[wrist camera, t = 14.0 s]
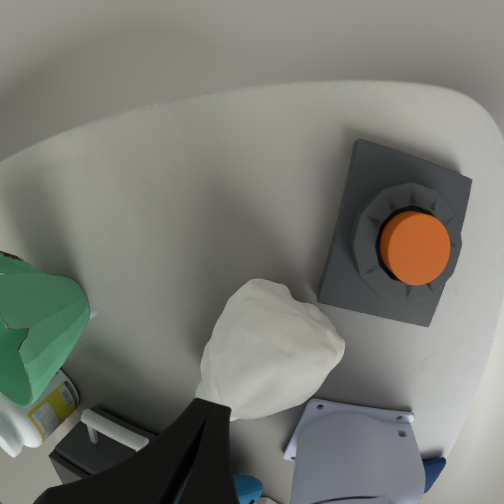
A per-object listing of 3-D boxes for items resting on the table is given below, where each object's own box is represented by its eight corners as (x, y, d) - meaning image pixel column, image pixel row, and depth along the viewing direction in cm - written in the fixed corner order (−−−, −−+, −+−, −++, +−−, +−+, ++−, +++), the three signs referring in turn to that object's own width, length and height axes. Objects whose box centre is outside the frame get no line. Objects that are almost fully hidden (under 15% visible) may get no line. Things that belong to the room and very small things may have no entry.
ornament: (207, 517, 22) (154, 533, 14) (194, 482, 25) (138, 487, 17) (279, 500, 22) (246, 522, 14) (263, 463, 25) (225, 470, 17)
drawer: (89, 376, 24) (43, 417, 17) (188, 419, 22) (155, 480, 15) (106, 465, 28) (80, 500, 21) (179, 497, 26) (159, 539, 19)
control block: (464, 179, 15) (487, 179, 13) (422, 320, 18) (437, 340, 15) (354, 141, 16) (363, 132, 14) (316, 295, 19) (317, 314, 16)
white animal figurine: (362, 386, 10) (227, 484, 15) (350, 296, 18) (256, 402, 22) (222, 304, 10) (140, 437, 15) (266, 242, 18) (190, 363, 23)
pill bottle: (35, 365, 27) (-27, 411, 16) (57, 355, 25) (-16, 409, 14) (64, 408, 28) (10, 461, 16) (91, 404, 26) (29, 467, 15)
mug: (127, 298, 22) (37, 358, 12) (95, 369, 24) (30, 427, 15) (26, 199, 22) (-58, 212, 12) (9, 276, 25) (-58, 303, 15)
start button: (444, 221, 14) (458, 225, 12) (426, 282, 15) (437, 292, 13) (389, 202, 14) (398, 204, 13) (371, 267, 15) (378, 276, 14)
